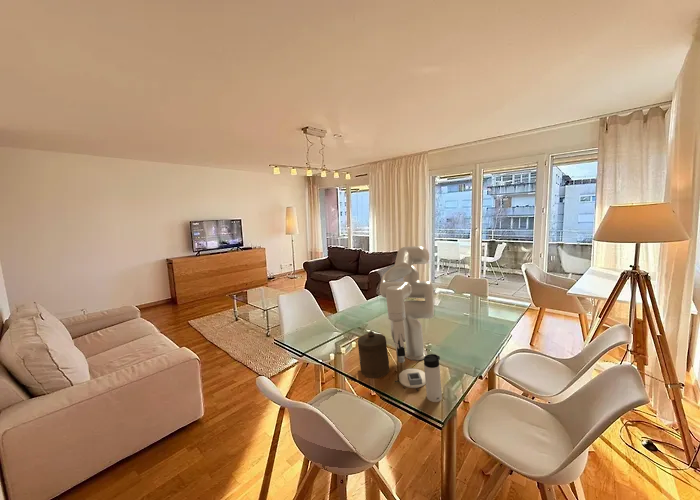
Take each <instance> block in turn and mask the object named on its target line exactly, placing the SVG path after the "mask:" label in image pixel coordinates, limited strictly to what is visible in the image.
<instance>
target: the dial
mask: <svg viewBox="0 0 700 500" xmlns="http://www.w3.org/2000/svg"><path fill="white" fill-rule="evenodd" d="M398 378H399V379H398V381H399V383H400V384H401V385H402V386H404V387H405V388H409V389H410V388H411V389H416V388H421V387H423V386H426V381H425V371H423V369H422V370H421V369H419V368H407V369H404V370H402V371H401V372H400V373H399V374H398Z"/></svg>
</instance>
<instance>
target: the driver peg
mask: <svg viewBox="0 0 700 500" xmlns="http://www.w3.org/2000/svg"><path fill="white" fill-rule="evenodd" d="M398 341H399V340H398ZM399 344H400V343H399ZM394 347H395V351H396V357H397V363H400V364H401V363H405V361H406V359H405V356H400V357H398V353H397V348H398V347H397V343H394Z"/></svg>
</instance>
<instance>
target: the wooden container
mask: <svg viewBox="0 0 700 500" xmlns="http://www.w3.org/2000/svg"><path fill="white" fill-rule="evenodd" d="M357 347H358V348H357V349H358V356H359V357H358V358H359V366H360V372H361V374H362V375H363V376H364V377H365V378H368V379H369V378H370V379H379V378H383V377H385V376H386V375H388V374H389V372H390V361H389V355H388V354H389V353H388V347H387V338H386V336H385V335H384V334H381V333H375V332H373V331H369V332H367V333H365V334H363V335H361V336H359V338H358V339H357Z"/></svg>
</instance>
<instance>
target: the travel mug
mask: <svg viewBox="0 0 700 500" xmlns="http://www.w3.org/2000/svg"><path fill="white" fill-rule="evenodd" d="M440 359H441V357H440V356H439V355H437V354H435V353H434V354H433V353H431V354H427V355H426V356H425V357H424V359H423V367H424V372H425V381H426V384H425V390H426V399H427V400H428V401H430V402H433V403H439V402H441V401H442V399H443V391H442V382H441V381H442V380H441V367H440Z"/></svg>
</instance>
